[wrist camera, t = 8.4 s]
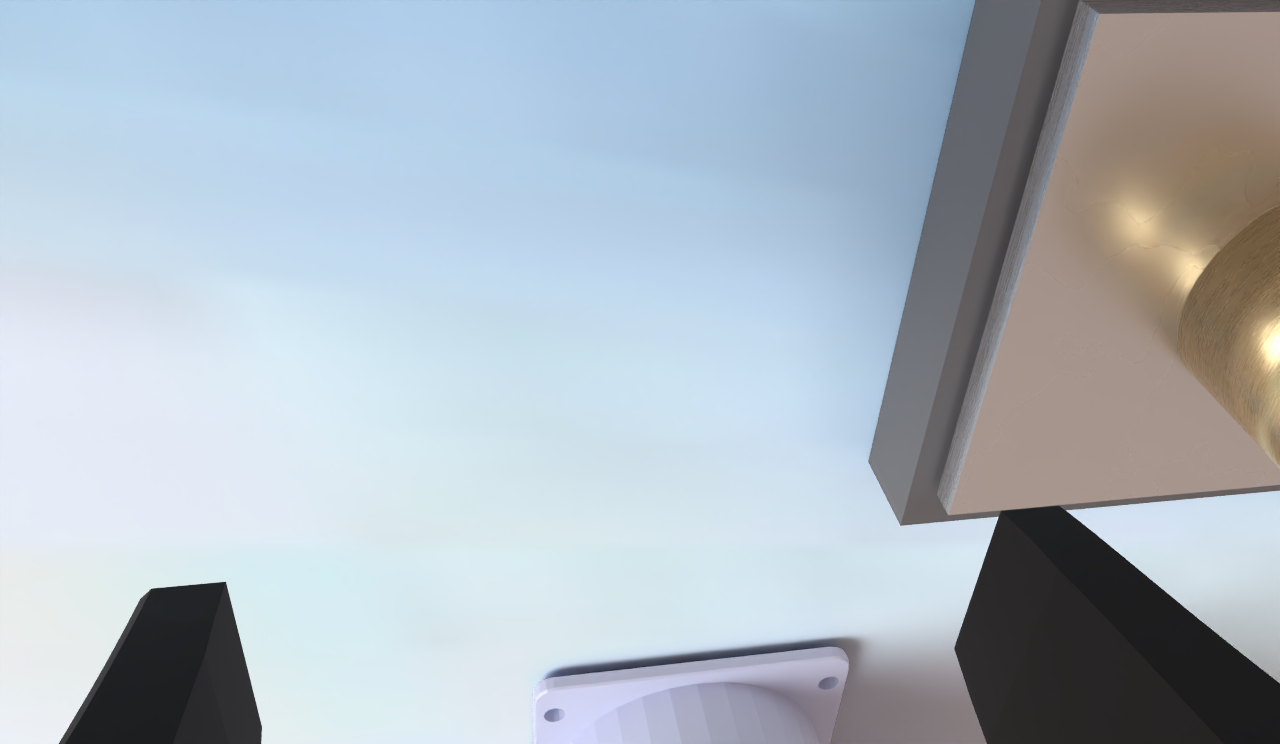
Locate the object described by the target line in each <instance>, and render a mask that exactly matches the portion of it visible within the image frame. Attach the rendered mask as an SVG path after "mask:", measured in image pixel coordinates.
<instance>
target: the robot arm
mask: <svg viewBox="0 0 1280 744" xmlns="http://www.w3.org/2000/svg"><path fill="white" fill-rule="evenodd" d="M954 649H955V652H956V655H957V658H958V661H959V664H960V667H961V670H962V673H963V676H964V679H965V682H966V685H967V688H968V692H969V695H970V698H971V701H972V703H973V706H974V709H975V712H976V714H977V717H978V720H979V723H980V725H981V728H982V731H983V734H984V736H985V739H986V742H987V744H1280V683H1278V682H1277V681H1276V680H1275V679H1273V678H1272V677H1271V676H1269V675H1268V674H1267V673H1266V672H1264V671H1263V670H1262V669H1260V668H1259V667H1258V666H1257V665H1255V664H1254V663H1253V662H1252V661H1250V660H1249V659H1248V658H1247V657H1245V656H1244V655H1243V654H1241V653H1240V652H1239V651H1238V650H1236V649H1235V648H1234V647H1233V646H1231V645H1230V644H1229V643H1228V642H1226V641H1225V640H1224V639H1223V638H1221V637H1220V636H1219V635H1218V634H1216V633H1215V632H1214V631H1213V630H1212V629H1210V628H1209V627H1208V626H1207V625H1205V624H1204V623H1203V622H1202V621H1200V620H1199V619H1198V618H1197V617H1195V616H1194V615H1193V614H1192V613H1191V612H1189V611H1188V610H1187V609H1186V608H1184V607H1183V606H1182V605H1181V604H1180V603H1178V602H1177V601H1176V600H1175V599H1174V598H1172V597H1171V596H1170V595H1169V594H1167V593H1166V592H1165V591H1164V590H1163V589H1161V588H1160V587H1159V586H1158V585H1157V584H1155V583H1154V582H1153V581H1152V580H1150V579H1149V578H1148V577H1147V576H1146V575H1144V574H1143V573H1142V572H1141V571H1140V570H1138V569H1137V568H1136V567H1135V566H1134V565H1132V564H1131V563H1130V562H1129V561H1127V560H1126V559H1125V558H1124V557H1123V556H1121V555H1120V554H1119V553H1118V552H1117V551H1115V550H1114V549H1113V548H1112V547H1110V546H1109V545H1108V544H1107V543H1106V542H1104V541H1103V540H1102V539H1101V538H1099V537H1098V536H1097V535H1096V534H1095V533H1093V532H1092V531H1091V530H1090V529H1088V528H1087V527H1086V526H1085V525H1083V524H1082V523H1081V522H1080V521H1078V520H1077V519H1076V518H1074V517H1073V516H1072V515H1071V514H1069V513H1068V512H1067V511H1065V510H1064V509H1063V508H1061V507H1060V506H1059V505H1058V506H1047V507H1036V508H1026V509H1015V510H1004V511H1001V512H1000V515H999V518H998V521H997V524H996V527H995V530H994V533H993V536H992V539H991V542H990V544H989V547H988V550H987V553H986V556H985V559H984V562H983V565H982V568H981V571H980V574H979V577H978V580H977V583H976V586H975V589H974V592H973V595H972V598H971V600H970V603H969V606H968V609H967V612H966V615H965V618H964V621H963V624H962V627H961V630H960V633H959V636H958V639H957V642H956V645H955V648H954ZM849 668H850V663H849V660H848V657H847V655H846V653H845V651H844V650H843V649H841V648H838V647H821V648H812V649H803V650H794V651H785V652H776V653H767V654H758V655H749V656H740V657H731V658H722V659H713V660H704V661H695V662H686V663H677V664H668V665H659V666H650V667H641V668H632V669H623V670H614V671H605V672H596V673H587V674H578V675H569V676H560V677H552V678H548V679H545V680H543V681H541V682H539V683H538V684H537V685H536V686H535V687H534V690H533V744H830V742H831V738H832V734H833V730H834V726H835V722H836V718H837V714H838V710H839V707H840V703H841V699H842V695H843V691H844V687H845V683H846V679H847V675H848V672H849ZM261 733H262V726H261V722H260V718H259V714H258V710H257V706H256V702H255V698H254V693H253V689H252V685H251V681H250V677H249V673H248V669H247V665H246V661H245V657H244V653H243V649H242V645H241V641H240V637H239V633H238V629H237V625H236V621H235V617H234V613H233V609H232V605H231V601H230V597H229V593H228V589H227V585H226V582H219V583H208V584H198V585H187V586H176V587H165V588H154V589H151V590H150V591H149V592H148V593H146V594H145V595H144V596H143V597H142V598H141V599H140V601H139V603H138V605H137V606H136V608H135V610H134V612H133V614H132V616H131V618H130V620H129V622H128V624H127V626H126V627H125V629H124V631H123V633H122V635H121V637H120V639H119V640H118V642H117V644H116V646H115V648H114V650H113V651H112V653H111V655H110V657H109V659H108V660H107V662H106V664H105V666H104V668H103V669H102V671H101V673H100V675H99V676H98V678H97V680H96V682H95V683H94V685H93V687H92V689H91V690H90V692H89V694H88V696H87V697H86V699H85V701H84V702H83V704H82V706H81V707H80V709H79V711H78V712H77V714H76V716H75V717H74V719H73V721H72V722H71V724H70V726H69V728H68V729H67V731H66V733H65V734H64V736H63V738H62V739H61V741H60V743H59V744H261Z"/></svg>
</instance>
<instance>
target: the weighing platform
mask: <svg viewBox="0 0 1280 744" xmlns="http://www.w3.org/2000/svg"><path fill="white" fill-rule="evenodd" d="M1278 206H1280V0H1079V2H1078V6H1077V9H1076V13H1075V16H1074V20H1073V23H1072V27H1071V30H1070V34H1069V37H1068V41H1067V44H1066V48H1065V51H1064V55H1063V58H1062V61H1061V65H1060V68H1059V72H1058V75H1057V79H1056V82H1055V86H1054V89H1053V93H1052V96H1051V100H1050V103H1049V107H1048V110H1047V114H1046V117H1045V120H1044V124H1043V127H1042V131H1041V134H1040V138H1039V141H1038V145H1037V148H1036V152H1035V155H1034V159H1033V162H1032V166H1031V169H1030V173H1029V176H1028V179H1027V183H1026V186H1025V190H1024V193H1023V197H1022V200H1021V204H1020V207H1019V211H1018V214H1017V218H1016V221H1015V225H1014V228H1013V232H1012V235H1011V238H1010V242H1009V245H1008V249H1007V252H1006V256H1005V259H1004V263H1003V266H1002V270H1001V273H1000V277H999V280H998V284H997V287H996V291H995V294H994V297H993V301H992V304H991V308H990V311H989V315H988V318H987V322H986V325H985V329H984V332H983V336H982V339H981V343H980V346H979V350H978V353H977V356H976V360H975V363H974V367H973V370H972V374H971V377H970V381H969V384H968V388H967V391H966V395H965V398H964V402H963V405H962V409H961V412H960V415H959V419H958V422H957V426H956V429H955V433H954V436H953V440H952V443H951V447H950V450H949V454H948V457H947V461H946V464H945V468H944V471H943V474H942V478H941V481H940V485H939V488H938V492H937V496H938V498H939V499H940V501H941V503H942V505H943V507H944V508H945V510H946V512H947V514H948V515H956V514H967V513H978V512H989V511H1000V510H1011V509H1021V508H1032V507H1043V506H1054V505H1065V504H1076V503H1087V502H1098V501H1109V500H1120V499H1131V498H1141V497H1152V496H1163V495H1174V494H1185V493H1196V492H1207V491H1218V490H1229V489H1240V488H1250V487H1261V486H1272V485H1280V469H1279V468H1278V466H1277V465H1276V464H1275V463H1274V462H1273V461H1272V460H1271V459H1270V458H1269V457H1268V456H1267V455H1266V454H1265V452H1264V451H1263V450H1262V449H1261V448H1260V447H1259V446H1258V445H1257V444H1256V443H1255V442H1254V441H1253V440H1252V438H1251V437H1250V436H1249V435H1248V434H1247V433H1246V432H1245V431H1244V430H1243V429H1242V428H1241V427H1240V426H1239V424H1238V423H1237V422H1236V421H1235V420H1234V419H1233V418H1232V417H1231V416H1230V415H1229V414H1228V413H1227V412H1226V410H1225V409H1224V408H1223V407H1222V406H1221V405H1220V404H1219V403H1218V402H1217V401H1216V400H1215V399H1214V398H1213V396H1212V395H1211V394H1210V393H1209V392H1208V391H1207V390H1206V389H1205V388H1204V387H1203V386H1202V385H1201V384H1200V382H1199V381H1198V380H1197V379H1196V378H1195V377H1194V376H1193V375H1192V374H1191V373H1190V371H1189V370H1188V369H1187V368H1186V366H1185V364H1184V362H1183V360H1182V358H1181V355H1180V351H1179V347H1178V328H1179V321H1180V317H1181V313H1182V309H1183V307H1184V304H1185V302H1186V299H1187V297H1188V295H1189V293H1190V291H1191V289H1192V287H1193V285H1194V284H1195V282H1196V280H1197V279H1198V277H1199V276H1200V274H1201V273H1202V271H1203V270H1204V268H1205V267H1206V266H1207V265H1208V264H1209V262H1210V261H1211V260H1212V259H1213V257H1214V256H1215V255H1216V254H1217V253H1218V252H1219V251H1220V250H1221V249H1222V248H1223V247H1224V246H1225V245H1226V244H1227V243H1228V242H1229V241H1230V240H1231V239H1232V238H1233V237H1234V236H1236V235H1237V234H1238V233H1239V232H1240V231H1241V230H1242V229H1244V228H1245V227H1247V226H1248V225H1249V224H1251V223H1252V222H1253V221H1255V220H1256V219H1257V218H1259V217H1261V216H1262V215H1264V214H1265V213H1267V212H1269V211H1270V210H1272V209H1274V208H1276V207H1278Z"/></svg>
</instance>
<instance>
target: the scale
mask: <svg viewBox="0 0 1280 744" xmlns="http://www.w3.org/2000/svg"><path fill="white" fill-rule="evenodd" d="M1078 2H1079V0H976V1H975V6H974V10H973V14H972V19H971V23H970V27H969V31H968V36H967V40H966V44H965V49H964V53H963V57H962V62H961V66H960V70H959V74H958V79H957V83H956V87H955V92H954V96H953V100H952V105H951V109H950V113H949V117H948V122H947V126H946V130H945V135H944V139H943V143H942V148H941V152H940V156H939V160H938V165H937V169H936V173H935V178H934V182H933V186H932V191H931V195H930V199H929V203H928V208H927V212H926V216H925V221H924V225H923V229H922V234H921V238H920V242H919V246H918V251H917V255H916V259H915V264H914V268H913V272H912V277H911V281H910V285H909V289H908V294H907V298H906V302H905V307H904V311H903V315H902V320H901V324H900V328H899V332H898V337H897V341H896V345H895V350H894V354H893V358H892V363H891V367H890V371H889V375H888V380H887V384H886V388H885V393H884V397H883V401H882V406H881V410H880V414H879V418H878V423H877V427H876V431H875V436H874V440H873V444H872V449H871V453H870V457H869V461H868V462H869V464H870V466H871V468H872V470H873V472H874V474H875V476H876V478H877V480H878V482H879V484H880V486H881V488H882V490H883V492H884V494H885V496H886V498H887V500H888V502H889V504H890V506H891V508H892V510H893V511H894V513H895V515H896V517H897V519H898V521H899V523H900V525H912V524H923V523H933V522H944V521H955V520H966V519H977V518H987V517H998V516H999V515H1000V512H1001V511H1004V510H1000V511H989V512H978V513H967V514H956V515H948V514H947V512H946V510H945V508H944V507H943V505H942V503H941V501H940V499H939V498H938V496H937V492H938V488H939V485H940V481H941V478H942V474H943V471H944V468H945V464H946V461H947V457H948V454H949V450H950V447H951V443H952V440H953V436H954V433H955V429H956V426H957V422H958V419H959V415H960V412H961V409H962V405H963V402H964V398H965V395H966V391H967V388H968V384H969V381H970V377H971V374H972V370H973V367H974V363H975V360H976V356H977V353H978V350H979V346H980V343H981V339H982V336H983V332H984V329H985V325H986V322H987V318H988V315H989V311H990V308H991V304H992V301H993V297H994V294H995V291H996V287H997V284H998V280H999V277H1000V273H1001V270H1002V266H1003V263H1004V259H1005V256H1006V252H1007V249H1008V245H1009V242H1010V238H1011V235H1012V232H1013V228H1014V225H1015V221H1016V218H1017V214H1018V211H1019V207H1020V204H1021V200H1022V197H1023V193H1024V190H1025V186H1026V183H1027V179H1028V176H1029V173H1030V169H1031V166H1032V162H1033V159H1034V155H1035V152H1036V148H1037V145H1038V141H1039V138H1040V134H1041V131H1042V127H1043V124H1044V120H1045V117H1046V114H1047V110H1048V107H1049V103H1050V100H1051V96H1052V93H1053V89H1054V86H1055V82H1056V79H1057V75H1058V72H1059V68H1060V65H1061V61H1062V58H1063V55H1064V51H1065V48H1066V44H1067V41H1068V37H1069V34H1070V30H1071V27H1072V23H1073V20H1074V16H1075V13H1076V9H1077V6H1078ZM1279 490H1280V485H1272V486H1261V487H1250V488H1240V489H1229V490H1218V491H1207V492H1196V493H1185V494H1174V495H1163V496H1152V497H1141V498H1131V499H1120V500H1109V501H1098V502H1087V503H1076V504H1065V505H1059V506H1060V507H1061V508H1063V509H1064V510H1074V509H1085V508H1095V507H1106V506H1117V505H1128V504H1139V503H1149V502H1160V501H1171V500H1182V499H1192V498H1203V497H1214V496H1225V495H1236V494H1246V493H1257V492H1268V491H1279ZM1054 506H1058V505H1054ZM1043 507H1047V506H1043ZM1032 508H1036V507H1032ZM1021 509H1026V508H1021ZM1011 510H1015V509H1011Z"/></svg>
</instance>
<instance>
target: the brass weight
mask: <svg viewBox="0 0 1280 744" xmlns="http://www.w3.org/2000/svg"><path fill="white" fill-rule="evenodd" d="M1178 347H1179V351H1180V355H1181V358H1182V360H1183V362H1184V364H1185V366H1186V368H1187V369H1188V370H1189V371H1190V373H1191V374H1192V375H1193V376H1194V377H1195V378H1196V379H1197V380H1198V381H1199V382H1200V384H1201V385H1202V386H1203V387H1204V388H1205V389H1206V390H1207V391H1208V392H1209V393H1210V394H1211V395H1212V396H1213V398H1214V399H1215V400H1216V401H1217V402H1218V403H1219V404H1220V405H1221V406H1222V407H1223V408H1224V409H1225V410H1226V412H1227V413H1228V414H1229V415H1230V416H1231V417H1232V418H1233V419H1234V420H1235V421H1236V422H1237V423H1238V424H1239V426H1240V427H1241V428H1242V429H1243V430H1244V431H1245V432H1246V433H1247V434H1248V435H1249V436H1250V437H1251V438H1252V440H1253V441H1254V442H1255V443H1256V444H1257V445H1258V446H1259V447H1260V448H1261V449H1262V450H1263V451H1264V452H1265V454H1266V455H1267V456H1268V457H1269V458H1270V459H1271V460H1272V461H1273V462H1274V463H1275V464H1276V465H1277V466H1278V468H1279V469H1280V206H1278V207H1276V208H1274V209H1272V210H1270V211H1269V212H1267V213H1265V214H1264V215H1262V216H1261V217H1259V218H1257V219H1256V220H1255V221H1253V222H1252V223H1251V224H1249V225H1248V226H1247V227H1245V228H1244V229H1242V230H1241V231H1240V232H1239V233H1238V234H1237V235H1236V236H1234V237H1233V238H1232V239H1231V240H1230V241H1229V242H1228V243H1227V244H1226V245H1225V246H1224V247H1223V248H1222V249H1221V250H1220V251H1219V252H1218V253H1217V254H1216V255H1215V256H1214V257H1213V259H1212V260H1211V261H1210V262H1209V264H1208V265H1207V266H1206V267H1205V268H1204V270H1203V271H1202V273H1201V274H1200V276H1199V277H1198V279H1197V280H1196V282H1195V284H1194V285H1193V287H1192V289H1191V291H1190V293H1189V295H1188V297H1187V299H1186V302H1185V304H1184V307H1183V309H1182V313H1181V317H1180V321H1179V328H1178Z"/></svg>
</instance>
